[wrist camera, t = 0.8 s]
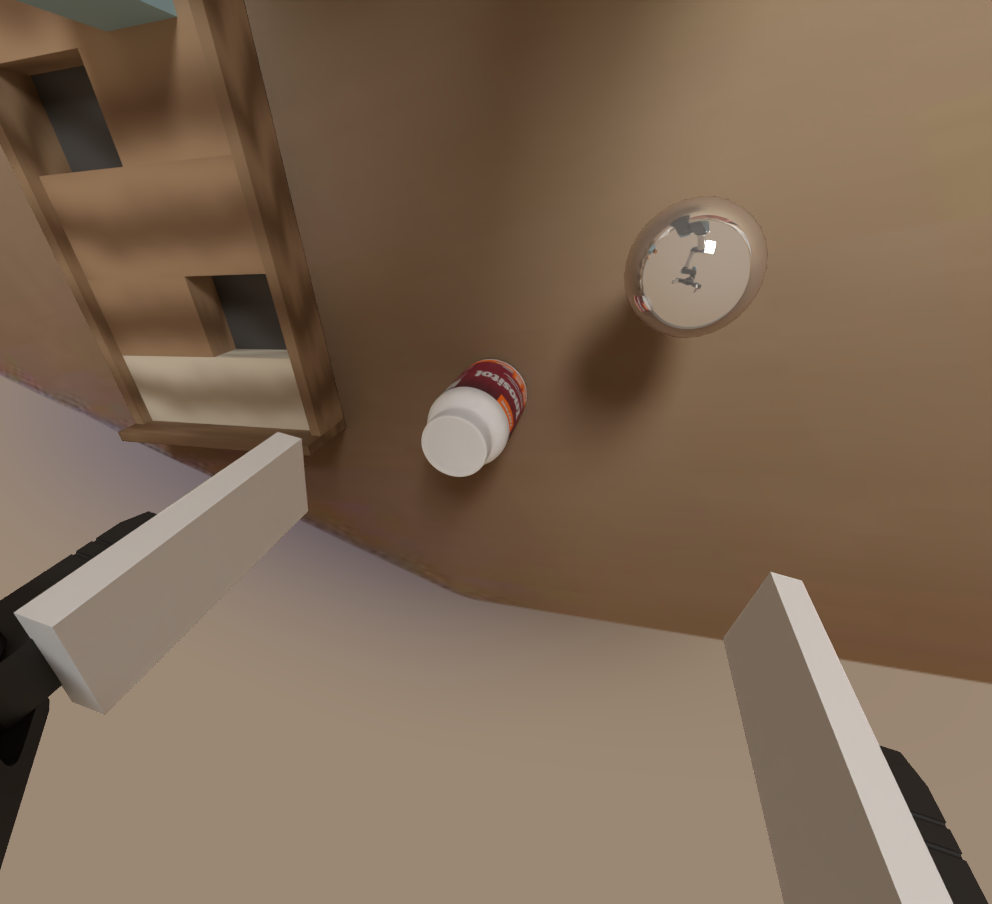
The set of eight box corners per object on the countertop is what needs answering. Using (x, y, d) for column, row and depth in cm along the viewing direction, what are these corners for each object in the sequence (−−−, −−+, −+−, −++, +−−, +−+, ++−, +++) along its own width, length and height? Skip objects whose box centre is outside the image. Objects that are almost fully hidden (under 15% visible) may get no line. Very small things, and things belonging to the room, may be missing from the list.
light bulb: (630, 317, 33) (635, 366, 23) (615, 217, 30) (613, 223, 20) (733, 294, 31) (789, 336, 21) (727, 183, 28) (788, 169, 18)
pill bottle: (543, 392, 38) (518, 453, 28) (496, 435, 41) (460, 502, 32) (490, 341, 37) (446, 386, 27) (447, 389, 40) (394, 444, 30)
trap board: (-30, -45, 32) (-151, -92, 27) (215, -116, 27) (122, -190, 22) (173, 417, 50) (122, 440, 45) (345, 427, 45) (310, 456, 40)
